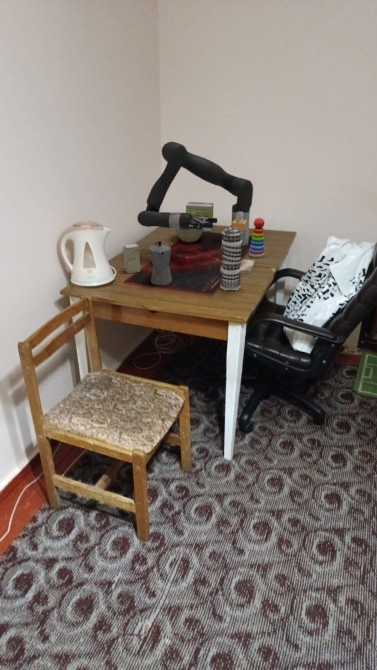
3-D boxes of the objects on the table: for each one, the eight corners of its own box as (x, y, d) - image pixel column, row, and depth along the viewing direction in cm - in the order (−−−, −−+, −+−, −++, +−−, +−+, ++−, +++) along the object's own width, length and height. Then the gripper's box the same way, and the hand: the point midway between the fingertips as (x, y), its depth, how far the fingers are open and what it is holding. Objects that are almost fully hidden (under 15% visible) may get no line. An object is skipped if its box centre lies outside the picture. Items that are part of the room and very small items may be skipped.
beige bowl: (185, 233, 261) (185, 212, 255) (212, 238, 252) (212, 216, 246) (166, 241, 248) (165, 219, 242) (193, 247, 239) (193, 224, 233)
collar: (232, 229, 202) (232, 222, 200) (234, 226, 206) (234, 219, 205) (244, 230, 200) (244, 223, 199) (246, 226, 205) (246, 220, 204)
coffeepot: (175, 286, 194) (173, 245, 185) (153, 288, 192) (151, 247, 184) (168, 273, 207) (166, 234, 199) (147, 275, 205) (145, 236, 197)
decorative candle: (244, 289, 190) (247, 230, 177) (223, 292, 187) (225, 232, 175) (236, 281, 197) (238, 224, 185) (216, 284, 195) (217, 226, 183)
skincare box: (128, 274, 207) (126, 248, 201) (124, 270, 211) (122, 245, 205) (141, 271, 210) (139, 245, 204) (137, 268, 213) (135, 243, 207)
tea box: (185, 231, 265) (185, 205, 258) (188, 226, 274) (188, 201, 267) (211, 232, 263) (211, 206, 256) (213, 227, 272) (213, 202, 264)
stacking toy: (264, 258, 222) (266, 220, 213) (247, 258, 224) (249, 220, 214) (265, 253, 229) (267, 216, 220) (249, 252, 230) (251, 215, 221)
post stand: (219, 271, 208) (221, 215, 196) (226, 261, 220) (227, 207, 208) (250, 274, 205) (253, 217, 192) (254, 263, 217) (258, 209, 204)
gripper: (175, 216, 201) (211, 218, 198) (184, 209, 213) (218, 210, 209) (176, 233, 205) (211, 235, 201) (185, 224, 217) (218, 227, 213)
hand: (215, 223), depth 205 cm, fingers open, 8 cm apart
